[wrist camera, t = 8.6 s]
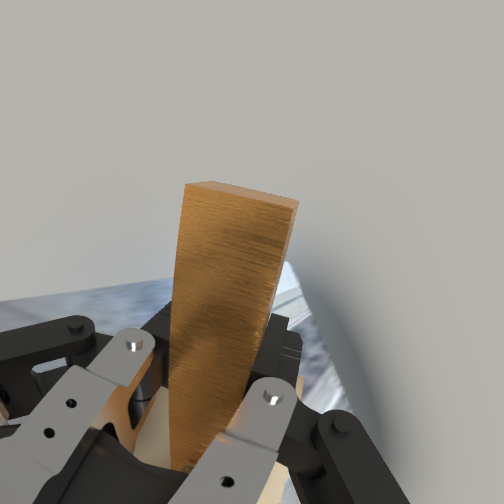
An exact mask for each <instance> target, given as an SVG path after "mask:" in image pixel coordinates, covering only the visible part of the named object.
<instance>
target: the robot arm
mask: <svg viewBox="0 0 504 504" xmlns="http://www.w3.org/2000/svg"><path fill="white" fill-rule="evenodd" d="M171 307H172V301H170V302H169V303H168V304H167V305H166V306H165V307H164V308H163V309H161V310H160V311H159V313H157V314H156V315H155V316H154V317H153V318H151V319H150V320H149V321H148V322H147V323H146V324H145V325H144V326H143V327H142V328H140V329H137V328H129V329H125V330H122V331H120V332H118V333H117V334H116V335H115V336H109V335H105V334H100V333H96V332H95V326H94V323H93V321H92V320H91V319H89V318H87V317H85V316H80V315H74V316H69V317H65V318H60V319H56V320H52V321H48V322H44V323H39V324H35V325H31V326H27V327H22V328H18V329H14V330H9V331H5V332H0V504H257V502H258V500H259V497H260V495H261V493H262V491H263V489H264V487H265V485H266V483H267V480H268V478H269V476H270V474H271V471H272V469H273V467H274V464H275V462H278V463H280V464H282V465H284V466H285V467H287V468H288V471H289V474H290V477H291V480H292V482H293V485H294V487H295V490H296V493H297V495H298V498H299V500H300V503H301V504H410V503H409V501H408V500H407V498H406V496H405V495H404V493H403V491H402V490H401V488H400V486H399V485H398V483H397V481H396V480H395V478H394V476H393V475H392V473H391V471H390V470H389V468H388V467H387V465H386V463H385V462H384V460H383V458H382V457H381V455H380V453H379V452H378V450H377V449H376V447H375V445H374V444H373V442H372V440H371V439H370V437H369V435H368V434H367V432H366V431H365V429H364V427H363V426H362V424H361V422H360V421H359V420H358V419H357V418H356V417H355V416H354V415H353V414H351V413H349V412H347V411H343V410H330V411H327V412H325V413H323V414H320V413H318V412H316V411H314V410H312V409H310V408H308V407H307V406H306V405H304V404H303V403H302V402H301V401H300V399H299V398H298V396H297V393H296V383H297V377H298V371H299V365H300V358H301V351H302V345H303V342H302V339H301V337H300V335H299V333H296V332H292V331H288V330H287V326H288V322H289V318H288V317H284V316H281V315H277V314H274V313H272V314H271V317H270V319H269V322H268V325H267V327H266V330H265V334H264V337H263V341H262V343H261V346H260V348H259V351H258V354H257V356H256V359H255V361H254V364H253V366H252V369H251V372H250V375H249V379H248V382H247V386H246V389H245V392H244V396H243V399H242V402H241V404H240V406H239V408H238V409H237V411H236V412H235V414H234V416H233V417H232V419H231V420H230V422H229V424H228V425H227V427H226V428H225V429H224V430H221V431H220V432H219V433H218V434H217V435H216V437H215V438H214V440H213V441H212V443H211V444H210V446H209V447H208V448H207V450H206V451H205V453H204V454H203V456H202V457H201V459H200V460H199V461H198V463H197V464H196V466H195V467H194V469H193V470H192V471H191V473H190V474H187V473H185V472H181V471H176V470H171V469H167V468H162V467H158V466H154V465H150V464H146V463H143V462H141V461H140V460H138V459H137V458H136V457H135V456H134V455H133V454H134V450H135V446H136V439H137V436H138V434H139V432H140V430H141V428H142V426H143V424H144V422H145V420H146V418H147V416H148V414H149V412H150V410H151V408H152V406H153V404H154V402H155V400H156V392H157V391H158V390H159V388H160V387H161V386H162V387H165V388H167V389H169V343H170V323H171ZM63 357H65V360H66V364H67V365H66V366H63V367H60V368H56V369H53V370H49V371H46V372H42V373H36V372H34V371H33V370H32V368H33V367H34V366H35V365H38V364H42V363H45V362H49V361H53V360H56V359H60V358H63ZM26 415H29V416H28V417H27V418H26V419H25V421H24V422H23V423H22V424H17V425H9V423H8V422H7V420H11V419H15V418H19V417H22V416H26Z"/></svg>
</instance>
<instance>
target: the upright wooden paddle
mask: <svg viewBox="0 0 504 504" xmlns="http://www.w3.org/2000/svg"><path fill="white" fill-rule="evenodd" d="M298 204H299V201H297V200H293V199H290V198H286V197H281V196H278V195H273V194H269V193H265V192H260V191H256V190H252V189H248V188H243V187H239V186H234V185H229V184H224V183H220V182H215V181H208V182H199V183H190V184H185V190H184V197H183V204H182V211H181V218H180V226H179V234H178V242H177V251H176V261H175V270H174V281H173V293H172V307H171V323H170V343H169V389H168V396H169V440H170V459H171V470H176V471H181V472H185V473H187V474H190V473H191V471H192V470H193V469H194V467H195V466H196V464H197V463H198V461H199V460H200V459H201V457H202V456H203V454H204V453H205V451H206V450H207V448H208V447H209V446H210V444H211V443H212V441H213V440H214V438H215V437H216V435H217V434H218V433H219V432H220V431H221V430H224V429H225V428H226V427H227V425H228V424H229V422H230V420H231V419H232V417H233V416H234V414H235V412H236V411H237V409H238V408H239V406H240V404H241V402H242V399H243V396H244V392H245V389H246V386H247V382H248V379H249V375H250V372H251V369H252V366H253V364H254V361H255V359H256V356H257V354H258V351H259V348H260V346H261V343H262V341H263V337H264V334H265V330H266V327H267V323H268V320H269V316H270V312H271V309H272V305H273V301H274V298H275V294H276V290H277V287H278V283H279V279H280V275H281V272H282V268H283V264H284V260H285V256H286V252H287V248H288V244H289V240H290V236H291V232H292V228H293V224H294V220H295V216H296V212H297V208H298Z"/></svg>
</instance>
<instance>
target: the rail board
mask: <svg viewBox="0 0 504 504" xmlns="http://www.w3.org/2000/svg"><path fill="white" fill-rule="evenodd" d="M303 383H304V377H301V376H298V377H297V383H296V393H297V396H298V398H299V399H300V401H301V396H302V390H303ZM133 455H134V456H135V457H136V458H137V459H138V460H140V461H141V462H143V463H146V464H150V465H154V466H158V467H162V468H167V469H171V459H170V440H169V396H168V389H167V388H165V387H162V386H161V387H160V388H159V390H158V391H157V392H156V400H155V402H154V404H153V406H152V408H151V410H150V412H149V414H148V416H147V418H146V420H145V422H144V424H143V426H142V428H141V430H140V432H139V434H138V436H137V439H136V446H135V450H134V454H133ZM287 472H288V468H287V467H285V466H284V465H282V464H280V463H278V462H275V464H274V467H273V469H272V471H271V474H270V476H269V478H268V480H267V483H266V485H265V487H264V489H263V491H262V493H261V495H260V497H259V500H258V502H257V504H280V502H281V498H282V494H283V490H284V486H285V481H286V477H287Z"/></svg>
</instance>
